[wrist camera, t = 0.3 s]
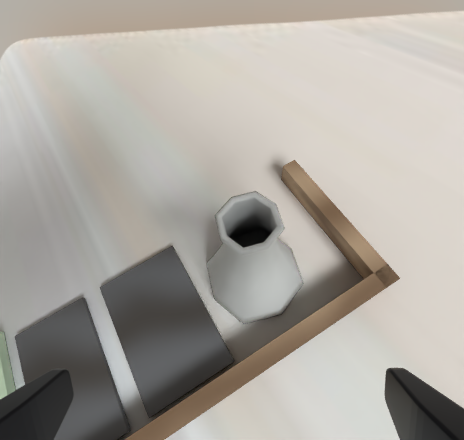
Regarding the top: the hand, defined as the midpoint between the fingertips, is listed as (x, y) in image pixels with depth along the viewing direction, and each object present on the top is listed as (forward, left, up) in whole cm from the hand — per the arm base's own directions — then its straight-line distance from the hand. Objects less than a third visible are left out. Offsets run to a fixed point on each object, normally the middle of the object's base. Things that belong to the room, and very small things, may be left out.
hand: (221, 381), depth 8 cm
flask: (+5, -4, -14) cm, 15 cm away
